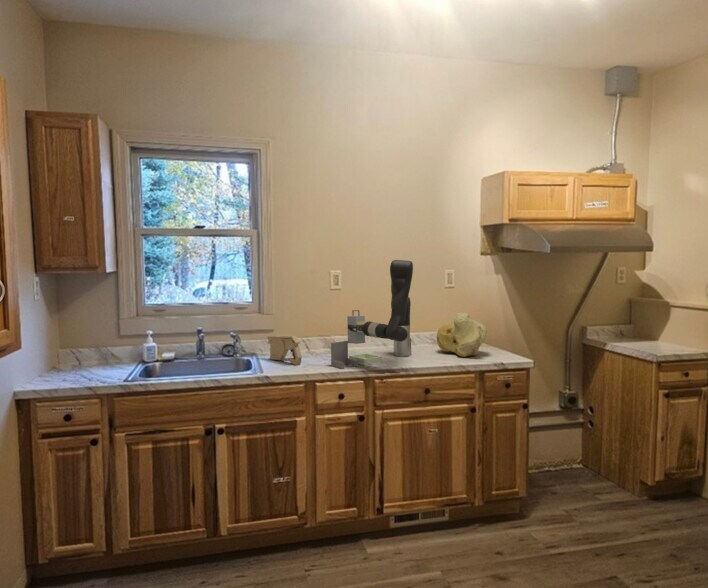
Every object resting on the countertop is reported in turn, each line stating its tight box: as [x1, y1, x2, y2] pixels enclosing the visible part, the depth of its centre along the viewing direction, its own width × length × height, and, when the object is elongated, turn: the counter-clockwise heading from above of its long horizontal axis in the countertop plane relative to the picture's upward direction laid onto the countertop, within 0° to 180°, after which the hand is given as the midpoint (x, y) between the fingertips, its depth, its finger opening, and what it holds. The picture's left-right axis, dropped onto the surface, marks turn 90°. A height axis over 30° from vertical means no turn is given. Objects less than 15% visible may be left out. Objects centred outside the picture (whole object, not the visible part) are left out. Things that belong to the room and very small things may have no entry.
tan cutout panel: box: [267, 335, 303, 366], centre depth 269 cm, size 24×3×15 cm, turn 47°
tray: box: [348, 352, 383, 366], centre depth 269 cm, size 12×13×3 cm
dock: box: [330, 340, 359, 370], centre depth 258 cm, size 10×10×12 cm
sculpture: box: [436, 311, 487, 358], centre depth 286 cm, size 25×26×30 cm
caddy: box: [347, 309, 366, 345], centre depth 262 cm, size 6×7×17 cm
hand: (353, 326), depth 265 cm, fingers closed on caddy, 6 cm apart
